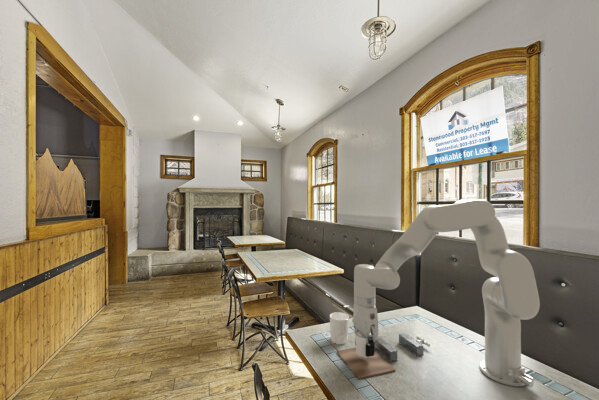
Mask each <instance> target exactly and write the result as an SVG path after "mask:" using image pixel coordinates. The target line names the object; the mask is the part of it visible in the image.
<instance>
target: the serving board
mask: <svg viewBox="0 0 599 400" xmlns="http://www.w3.org/2000/svg"><path fill="white" fill-rule="evenodd" d="M336 354H337V355H338V357H340V359H341V360H342V361H343V362H344V364H346V366H347V367H348V368H349V370H350V371H351V372H352V373H353V375H354V376H355V377H356V378H357V380H362V379H363V380H365V379H367V378H368V379H369V378H371V377H372V378H373V377H376V376H382V375H386V374H389V373H394V372H396V369H395V367H393V366H392V365H391V363H389V361H387V359H386V358H383V356H382V355H380V354H379V352H377V350H376V349H375V350H374V356H371V357H366V358H365V357H361V356H359V355H358V354H357V353H356V347H352V348H347V349H342V350H336Z"/></svg>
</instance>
